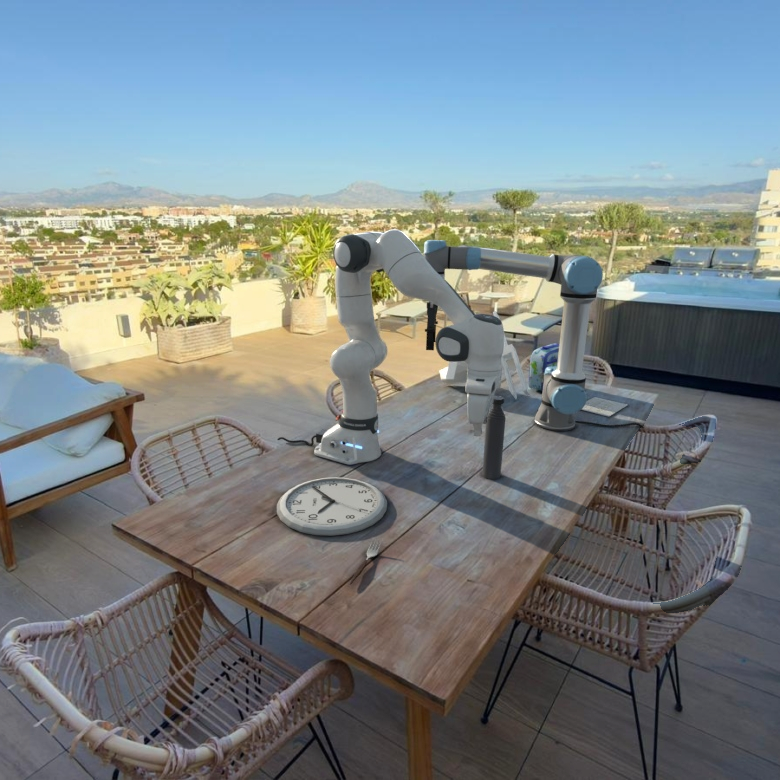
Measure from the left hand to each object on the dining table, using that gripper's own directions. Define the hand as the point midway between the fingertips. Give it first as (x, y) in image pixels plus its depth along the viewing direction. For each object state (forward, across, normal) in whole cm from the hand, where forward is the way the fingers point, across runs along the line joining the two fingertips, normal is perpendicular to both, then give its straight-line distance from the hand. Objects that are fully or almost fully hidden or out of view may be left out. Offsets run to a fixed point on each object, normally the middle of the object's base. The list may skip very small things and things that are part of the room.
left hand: (480, 428), depth 138 cm
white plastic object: (+22, -103, -17) cm, 107 cm away
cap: (-3, -20, +2) cm, 20 cm away
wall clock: (+22, +14, -37) cm, 45 cm away
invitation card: (+23, -103, +36) cm, 111 cm away
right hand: (-10, -50, -27) cm, 57 cm away
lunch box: (+22, -123, +13) cm, 126 cm away
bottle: (+22, -20, +1) cm, 30 cm away
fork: (+22, +36, -19) cm, 46 cm away
